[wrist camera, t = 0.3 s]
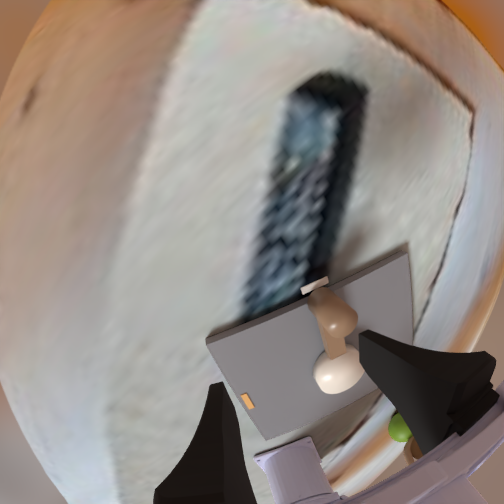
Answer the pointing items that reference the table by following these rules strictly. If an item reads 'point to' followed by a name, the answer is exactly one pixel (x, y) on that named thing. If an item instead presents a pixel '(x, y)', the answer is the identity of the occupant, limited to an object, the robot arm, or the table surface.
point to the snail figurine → (404, 438)
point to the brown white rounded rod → (335, 342)
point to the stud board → (309, 348)
